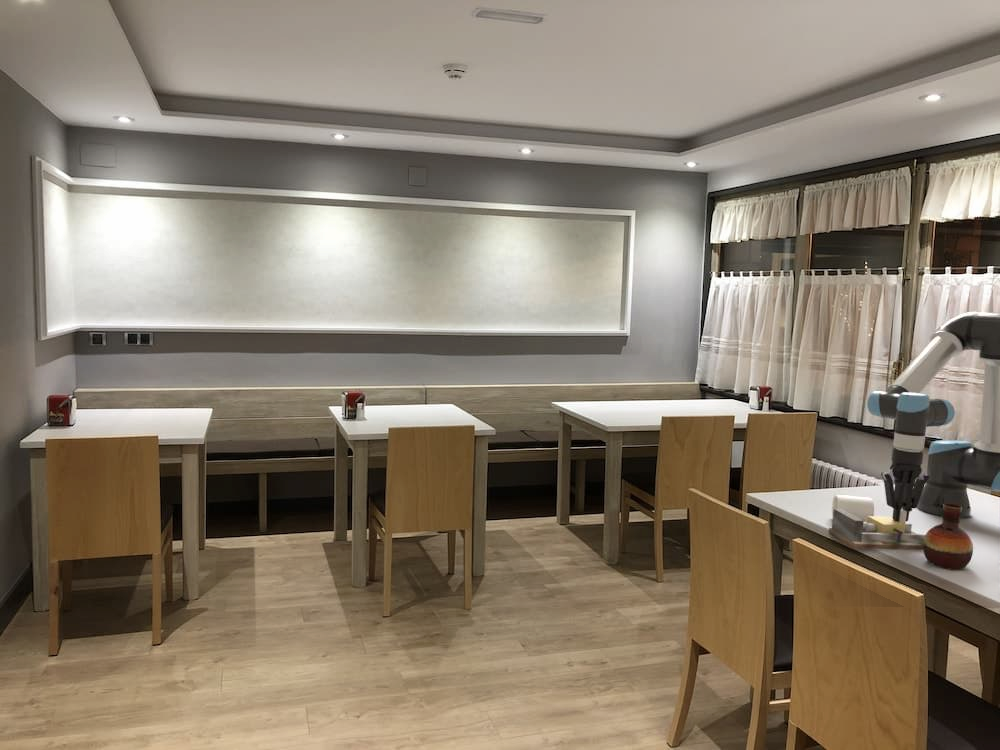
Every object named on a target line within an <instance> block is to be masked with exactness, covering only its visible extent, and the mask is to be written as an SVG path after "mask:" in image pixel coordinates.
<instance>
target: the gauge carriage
mask: <svg viewBox="0 0 1000 750" xmlns="http://www.w3.org/2000/svg"><path fill="white" fill-rule="evenodd" d="M904 530H905V525H904V524H902V523H900V522H898V521H895V520H893V518H892V517H890V516H885V515H883V516H882V515H879V516H878V515H874V516H868V518H867V523H864V524H863V531H864V532H868V533H898V537H897V542H898V543H900V542H901V534H903V533H904Z"/></svg>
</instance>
